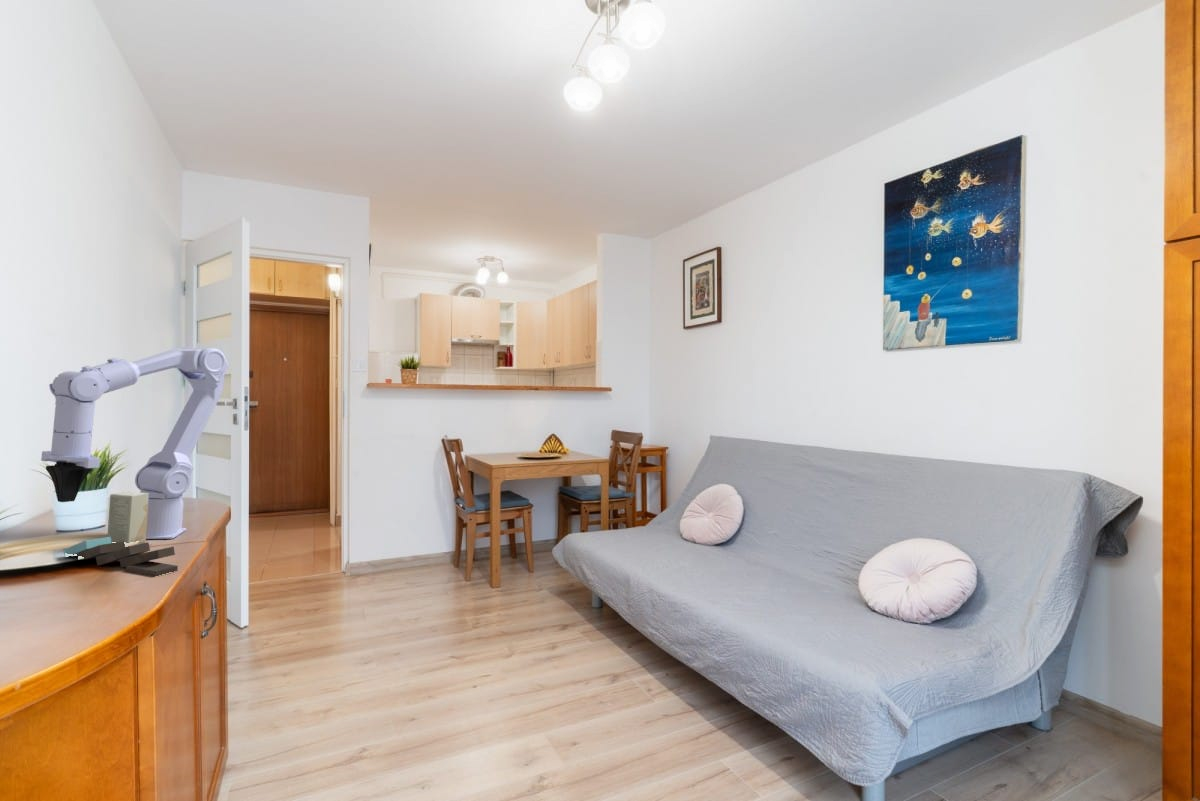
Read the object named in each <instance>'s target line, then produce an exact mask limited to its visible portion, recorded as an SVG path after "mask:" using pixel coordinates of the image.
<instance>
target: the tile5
mask: <svg viewBox="0 0 1200 801" xmlns="http://www.w3.org/2000/svg"><path fill="white" fill-rule="evenodd" d="M178 568H179V566H178V565H174V564H168V563H163V562H157V561H153V560H151V561H146V562H142V563H137V564H133V565H129V566H125V572H126V573H132V574H136V575H138V574H139V575H142V576H148V575H150V577H154V576H158V577H160V576H159V575H161V576H163V575H162V574H165V575H167V574H166V573H169V572H173V573H175V572H174V571H177V572H178ZM169 574H170V573H169Z"/></svg>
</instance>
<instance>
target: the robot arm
mask: <svg viewBox="0 0 1200 801" xmlns="http://www.w3.org/2000/svg"><path fill="white" fill-rule="evenodd" d="M229 366H230V365H229V362H228V360H227V358H226V355H225V354H224V352H223V351H222V350H220V349H218V348H216V347H208V348H207V347H202V348H201V347H191V346H183V347H181V348H172V349H170V350H169V349H168V350H166V351H163V352H160V353H157V354H154V355H150V356H147V357H145V358H141V359H139V360H135V361H132V362H130V361H128V360H126V359H125V358H124V359H122V358H121V359H119V358H118V357H116V358H115V357H112V358H108V359H107V362H106V363H102V364H99V365H94V366H91V365H85V366H82V367H81V370H80V371H71V370H69V371H67V370H66V371H64V372H63V371H62V372H61V373H59V374H58V376H55V378H54V379H53V380H52V383H49V385H48V386H49V391H50V393H51V394H52V395H53V396H54V398H55V403H54V406H55V408H54V417H53V418H54V419H53V420H54V421H53V428H52V437H51V438H52V439H51V448H50V450H47V451H45V450H43V451H42V452H41V459H40V460H41V461H42V462H53V463H54V465H53V464H52V465H46V466H45V470H46V472H47V473H48V474H49V476H50V478H51V480H52V483H53V486H54V492H55V495H56V499H57V502H59V503H68V502H75V500H76V498H77V496H78V493H79V491H80V488H81V486H82V484H83V482H84V481H85V479H86V478H87V476H88V475H89V474H90V473H91V472H92V471H93V469H98V468H100V465H101V464H100V463H101V457H97V456H94V455H93V454H91V450H92V440H93V439H92V437H93V430H94V429H93V426H94V417H95V408H96V401H97V400H99V399H100V398H101V397H102V396H103V395H105V394H107V393H110V392H114V391H117V390H120V389H124V388H127V387H130V386H134V385H135V384H136V383H137V382H138V380H139V378H140V377H143V376H148V375H151V374H155V373H159V372H164V371H167V370H171V369H176V370H177V371H179V373H180V374H181V375H182V376H183V377H184V378H185V380H187V381H188V382H189V384H190V386H191V388H192V392H191V394H190V396H189V398H188V400H187V401H186V404H185V406H184V407H183V409H182V412H181V413H180V415H179V417H178V419H177V421H176V423H175V424H174V427H173V428H172V430H171V432H170V434H169V436H168V438H167V439H166V441H165V444H164V446H163V447H162V449H161V451H159V452H158V453H155V454H154V455H152V456H151V457H150V458H149V459H148V461H147V463H146V464H145V465H144V466H143V467H141V468H140V469H139V470H138V471H137V472H136V474H135V477H134V483H135V486H136V488H137V489H138V490H139V491H140V493H149V499H148V514H147V529H146V540H151V539H153V540H156V539H158V540H163V539H166V540H167V539H168V540H169V539H171V540H172V539H175V538H176V537H177V536H179V535H181V534H182V533H184V532H186V531H187V528H186V527H183V516H184V506H185V503H184V500H183V499H182V497H183V496H184V493H186V492H187V490H188V489H189V487H190V485H191V476H192V474H193V473H192V472H193V471H194V465H193V464H192V462H191V460H190V458H191V455H192V453H193V451H194V449H195V448H196V445H197V443H198V442H199V440H200V437H201V435H202V433H203V431H204V429H205V428H206V426H207V423H208V421H209V420H210V417H211V416H212V414H213V412H214V410H215V408H216V406H217V403H218V402H219V400H220V398H221V396H222V394H223V391H224V383H225V382H224V381H225V380H224V379H225V374H226V373H227V370H228V368H229Z"/></svg>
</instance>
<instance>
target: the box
mask: <svg viewBox="0 0 1200 801" xmlns="http://www.w3.org/2000/svg"><path fill="white" fill-rule="evenodd" d="M148 499H149V493H141V492H138V491H137V492H136V491H123V492H116V493H111V494H110V495H109V506H108V507H109V508H108V509H109V510H108V520H107V533H106V534H107V535H106V537H111V542H122V541H124V542H126V543H130V542H136V541H139V542H138V543H137V544H136V545H138V544H142V543H147V541H146V540H147V539H146V529H147V514H148Z"/></svg>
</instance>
